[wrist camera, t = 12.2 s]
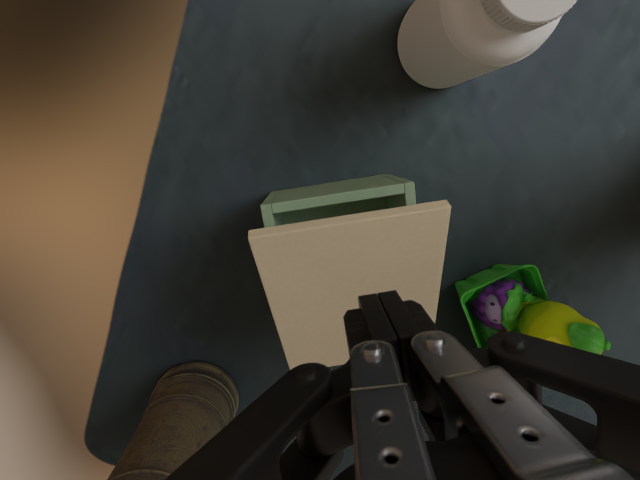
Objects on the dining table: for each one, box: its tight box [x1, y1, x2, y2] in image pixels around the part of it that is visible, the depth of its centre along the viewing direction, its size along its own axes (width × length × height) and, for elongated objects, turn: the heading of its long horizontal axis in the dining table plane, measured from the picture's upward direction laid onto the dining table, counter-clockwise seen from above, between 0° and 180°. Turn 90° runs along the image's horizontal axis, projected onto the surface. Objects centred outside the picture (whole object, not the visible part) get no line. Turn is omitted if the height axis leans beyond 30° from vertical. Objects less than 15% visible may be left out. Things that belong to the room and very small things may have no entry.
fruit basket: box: [455, 264, 611, 355], centre depth 34 cm, size 11×9×11 cm
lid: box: [248, 200, 451, 370], centre depth 25 cm, size 14×12×1 cm
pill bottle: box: [397, 0, 577, 89], centre depth 26 cm, size 8×8×15 cm
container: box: [108, 361, 239, 480], centre depth 32 cm, size 9×9×18 cm
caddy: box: [260, 174, 416, 228], centre depth 33 cm, size 14×12×9 cm
